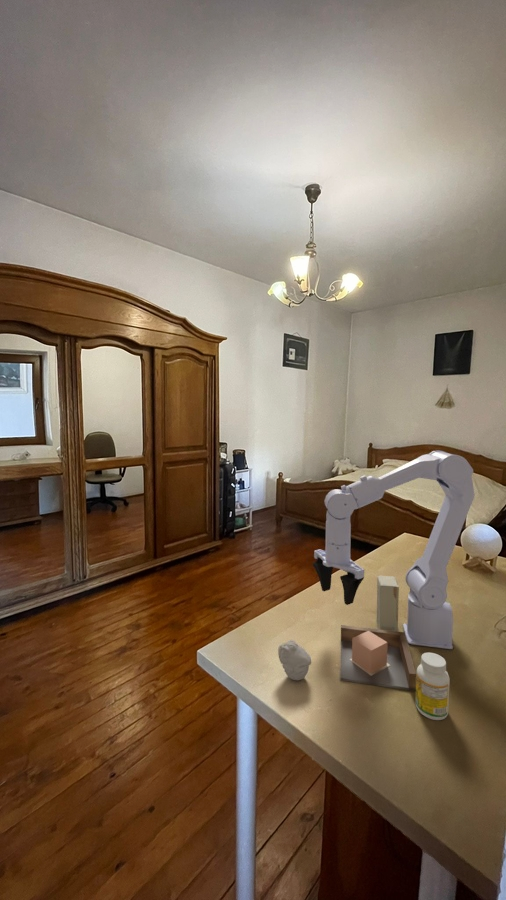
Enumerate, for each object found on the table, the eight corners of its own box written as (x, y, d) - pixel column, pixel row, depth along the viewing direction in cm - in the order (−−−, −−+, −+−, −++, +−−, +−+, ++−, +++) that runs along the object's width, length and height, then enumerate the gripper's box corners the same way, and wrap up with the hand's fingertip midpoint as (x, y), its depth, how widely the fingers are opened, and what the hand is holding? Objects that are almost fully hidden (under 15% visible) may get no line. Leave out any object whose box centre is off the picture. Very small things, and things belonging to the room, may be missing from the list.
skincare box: (398, 636, 90) (399, 587, 89) (379, 634, 91) (380, 586, 90) (393, 621, 97) (395, 575, 95) (375, 620, 97) (377, 574, 96)
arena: (404, 646, 86) (404, 632, 86) (415, 691, 73) (416, 674, 72) (340, 638, 90) (341, 624, 89) (340, 680, 76) (340, 663, 76)
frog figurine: (285, 662, 81) (285, 631, 81) (316, 673, 78) (317, 641, 77) (272, 679, 76) (272, 647, 76) (304, 693, 73) (305, 658, 72)
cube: (367, 652, 84) (368, 630, 83) (386, 664, 80) (387, 642, 79) (351, 660, 81) (352, 638, 81) (370, 673, 77) (371, 650, 76)
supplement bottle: (443, 726, 65) (446, 674, 64) (411, 710, 68) (412, 660, 67) (451, 707, 69) (453, 658, 68) (420, 693, 72) (422, 646, 71)
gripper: (304, 535, 93) (304, 588, 95) (348, 554, 81) (347, 615, 82) (326, 530, 97) (325, 581, 98) (371, 548, 85) (369, 606, 86)
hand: (337, 596), depth 91 cm, fingers open, 7 cm apart
